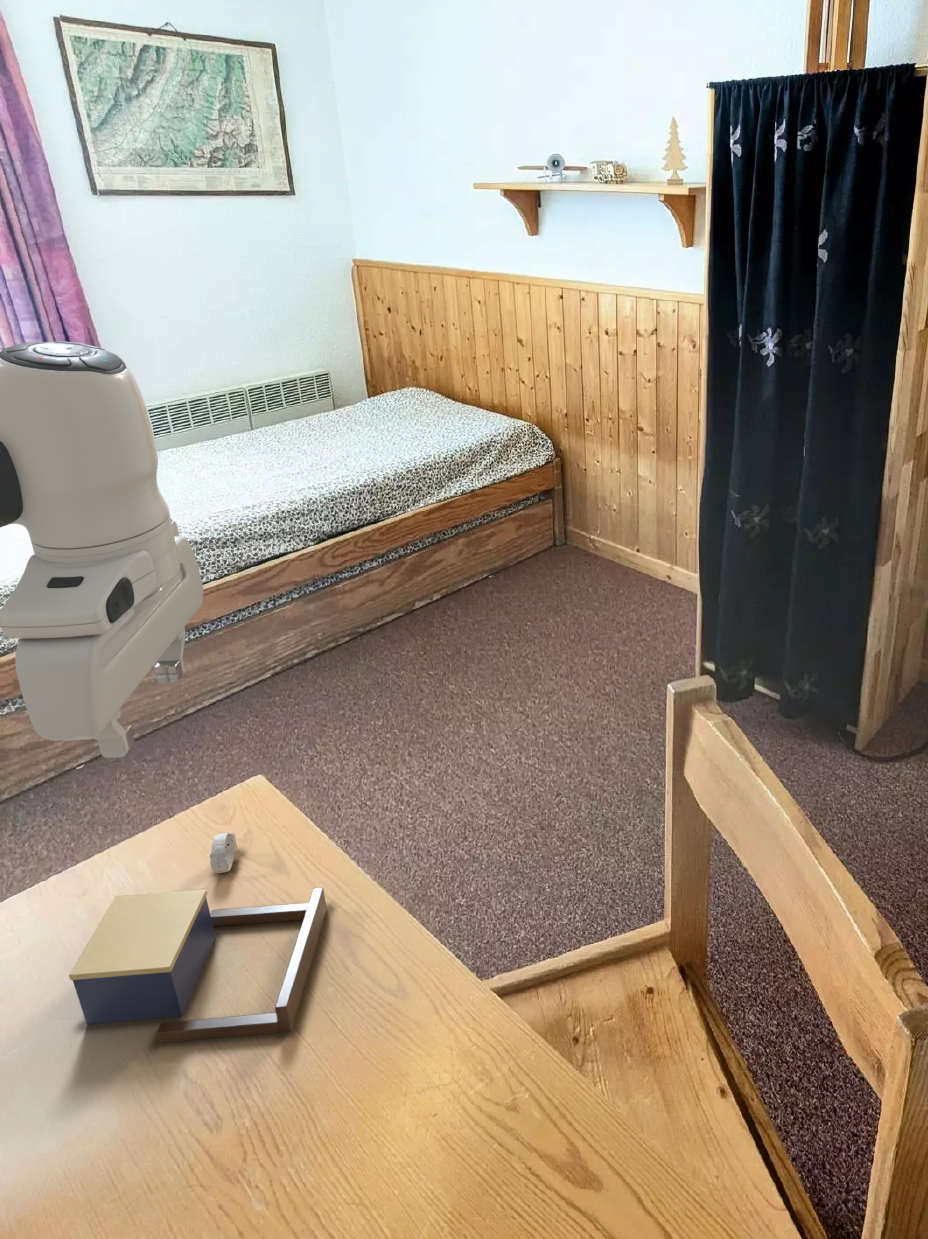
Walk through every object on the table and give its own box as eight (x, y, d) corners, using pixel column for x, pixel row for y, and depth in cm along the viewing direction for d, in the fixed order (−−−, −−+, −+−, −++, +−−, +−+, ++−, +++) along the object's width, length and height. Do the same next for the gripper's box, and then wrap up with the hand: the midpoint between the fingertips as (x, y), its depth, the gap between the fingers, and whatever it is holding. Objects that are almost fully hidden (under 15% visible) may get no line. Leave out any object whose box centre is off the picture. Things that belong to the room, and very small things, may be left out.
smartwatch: (232, 879, 87) (226, 849, 85) (210, 882, 86) (203, 852, 85) (239, 853, 90) (233, 824, 89) (218, 856, 90) (212, 827, 88)
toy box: (84, 1025, 72) (68, 975, 70) (129, 943, 80) (115, 895, 77) (182, 1017, 73) (169, 967, 71) (217, 936, 80) (206, 889, 78)
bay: (158, 1043, 70) (151, 1018, 69) (214, 918, 82) (208, 895, 81) (291, 1031, 72) (286, 1006, 70) (327, 909, 83) (323, 887, 82)
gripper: (131, 507, 71) (162, 645, 76) (-20, 631, 52) (34, 805, 57) (207, 505, 72) (233, 642, 77) (85, 626, 53) (129, 799, 58)
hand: (147, 713), depth 67 cm, fingers open, 8 cm apart
